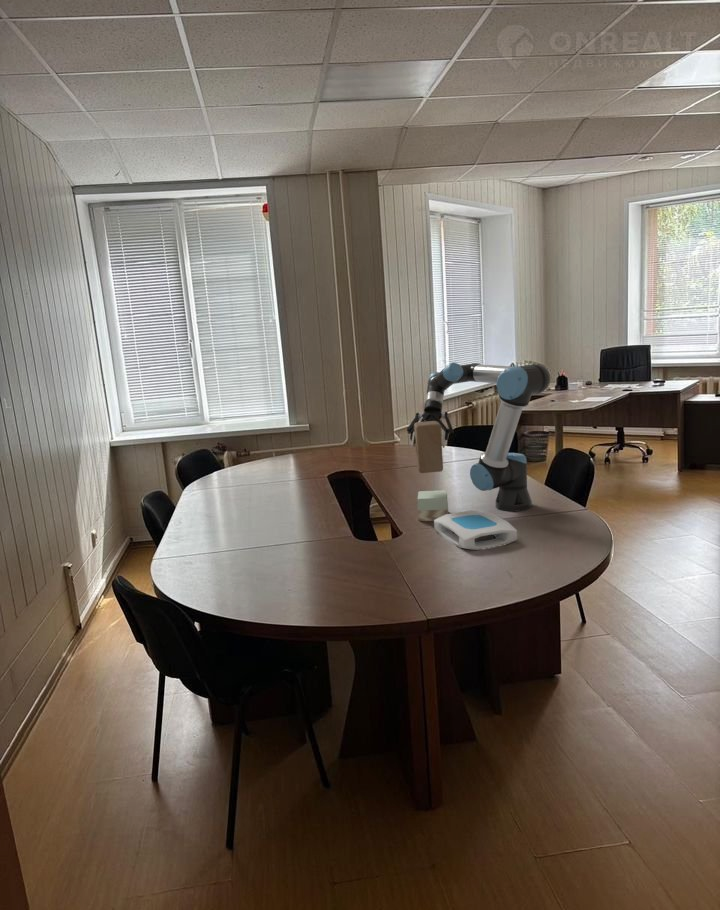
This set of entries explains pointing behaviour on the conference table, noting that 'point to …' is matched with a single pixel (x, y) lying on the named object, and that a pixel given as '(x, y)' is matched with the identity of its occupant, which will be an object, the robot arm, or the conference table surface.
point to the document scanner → (474, 529)
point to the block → (428, 446)
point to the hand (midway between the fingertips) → (427, 446)
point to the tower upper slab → (432, 500)
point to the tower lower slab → (431, 514)
